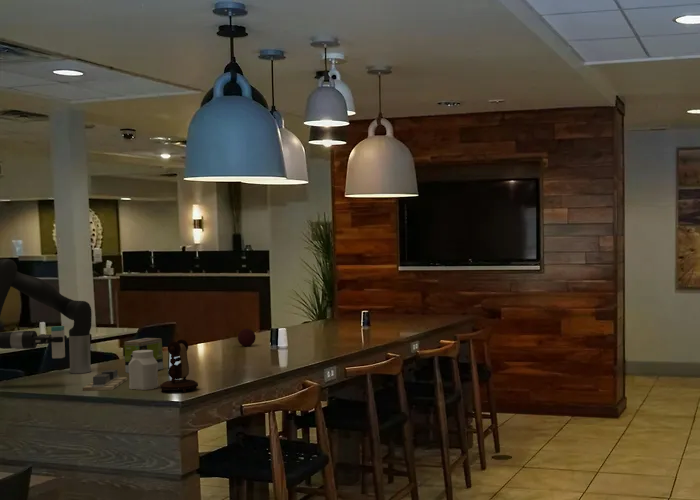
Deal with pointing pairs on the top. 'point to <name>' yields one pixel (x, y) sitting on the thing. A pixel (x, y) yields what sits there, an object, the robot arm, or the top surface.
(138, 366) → the jar
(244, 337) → the decorative ball
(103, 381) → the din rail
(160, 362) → the tea box
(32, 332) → the robot arm
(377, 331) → the top surface
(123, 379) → the rail board
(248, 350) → the top surface
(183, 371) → the dark brown sculpture
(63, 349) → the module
